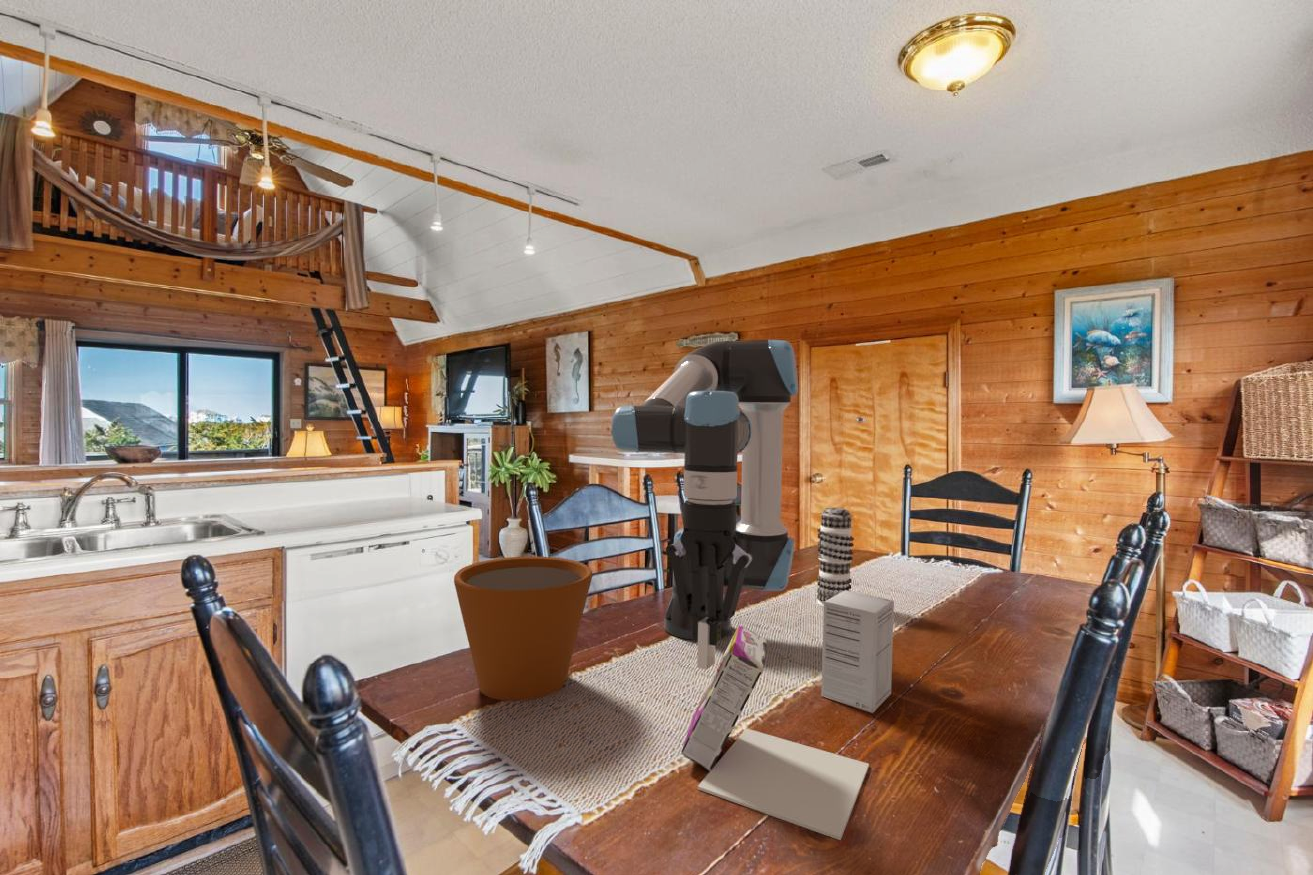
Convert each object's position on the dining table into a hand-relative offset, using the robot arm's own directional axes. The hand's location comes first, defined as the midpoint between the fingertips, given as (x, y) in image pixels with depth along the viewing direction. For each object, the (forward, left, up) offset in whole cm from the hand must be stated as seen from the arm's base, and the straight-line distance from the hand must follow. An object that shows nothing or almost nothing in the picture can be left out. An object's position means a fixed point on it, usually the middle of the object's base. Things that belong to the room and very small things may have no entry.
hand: (706, 665), depth 86 cm
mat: (+12, 0, -13) cm, 17 cm away
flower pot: (-37, +3, -13) cm, 39 cm away
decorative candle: (-1, +81, -13) cm, 82 cm away
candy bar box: (-1, 0, -12) cm, 12 cm away
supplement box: (+15, +30, -13) cm, 36 cm away
